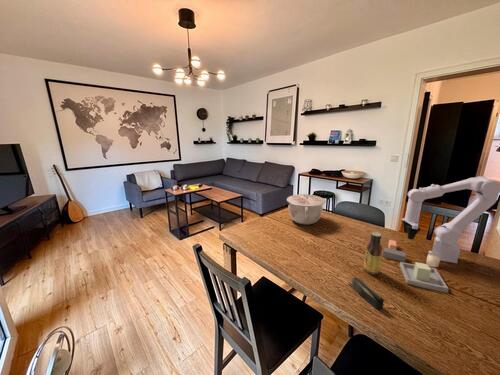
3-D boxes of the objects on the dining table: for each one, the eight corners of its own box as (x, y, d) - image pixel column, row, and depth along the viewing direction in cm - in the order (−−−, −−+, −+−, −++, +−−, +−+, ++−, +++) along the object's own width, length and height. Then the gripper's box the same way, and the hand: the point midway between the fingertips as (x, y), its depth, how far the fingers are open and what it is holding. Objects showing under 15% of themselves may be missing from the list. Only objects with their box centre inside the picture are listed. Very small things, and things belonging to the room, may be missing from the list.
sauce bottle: (365, 265, 102) (369, 228, 97) (379, 270, 99) (385, 232, 93) (361, 272, 98) (367, 234, 92) (377, 277, 94) (383, 238, 89)
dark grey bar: (385, 298, 76) (353, 272, 90) (379, 301, 75) (348, 274, 89) (383, 309, 78) (352, 282, 91) (377, 311, 77) (346, 284, 90)
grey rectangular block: (383, 253, 113) (384, 247, 112) (404, 258, 107) (405, 252, 106) (382, 257, 109) (383, 251, 108) (404, 263, 104) (405, 256, 103)
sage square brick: (425, 275, 94) (427, 264, 92) (428, 281, 90) (431, 270, 88) (413, 272, 96) (415, 262, 94) (416, 278, 92) (418, 267, 90)
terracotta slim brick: (394, 246, 119) (395, 240, 118) (395, 251, 113) (397, 245, 112) (388, 245, 120) (389, 239, 119) (389, 250, 115) (390, 244, 114)
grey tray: (434, 272, 96) (435, 268, 95) (447, 293, 84) (448, 288, 83) (399, 265, 101) (400, 261, 101) (406, 284, 89) (407, 279, 89)
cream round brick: (436, 262, 103) (438, 254, 102) (440, 268, 99) (442, 259, 98) (424, 260, 105) (426, 252, 104) (427, 266, 101) (429, 257, 99)
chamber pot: (301, 211, 174) (301, 187, 168) (331, 221, 153) (333, 194, 148) (278, 220, 157) (278, 194, 151) (308, 233, 136) (310, 203, 131)
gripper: (400, 206, 115) (396, 228, 119) (407, 216, 103) (403, 240, 106) (415, 208, 113) (411, 230, 116) (425, 218, 100) (420, 243, 103)
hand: (408, 235), depth 111 cm, fingers open, 7 cm apart
